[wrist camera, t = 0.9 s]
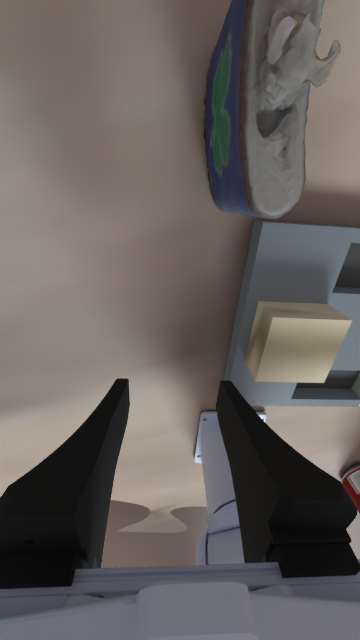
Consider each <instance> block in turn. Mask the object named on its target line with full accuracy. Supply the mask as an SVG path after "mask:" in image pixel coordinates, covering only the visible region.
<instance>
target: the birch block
mask: <svg viewBox="0 0 360 640" xmlns="http://www.w3.org/2000/svg"><path fill="white" fill-rule="evenodd" d="M352 321H353V320H351V319H350V318H348V317H347V316H345V315H344V314H342V313H340V312H339V311H337V310H336V309H334V308H333V307H331V306H330V305H328V304H315V303H291V302H268V301H258V306H257V310H256V314H255V318H254V322H253V327H252V331H251V335H250V339H249V344H248V348H247V352H246V356H245V361H246V363H247V365H248V368H249V370H250V372H251V374H252V376H253V378H254V380H255V382H298V383H324V382H325V380H326V378H327V375H328V373H329V371H330V369H331V367H332V364H333V362H334V360H335V358H336V356H337V353H338V351H339V349H340V347H341V345H342V342H343V340H344V338H345V336H346V334H347V331H348V329H349V327H350V325H351V323H352Z"/></svg>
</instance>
